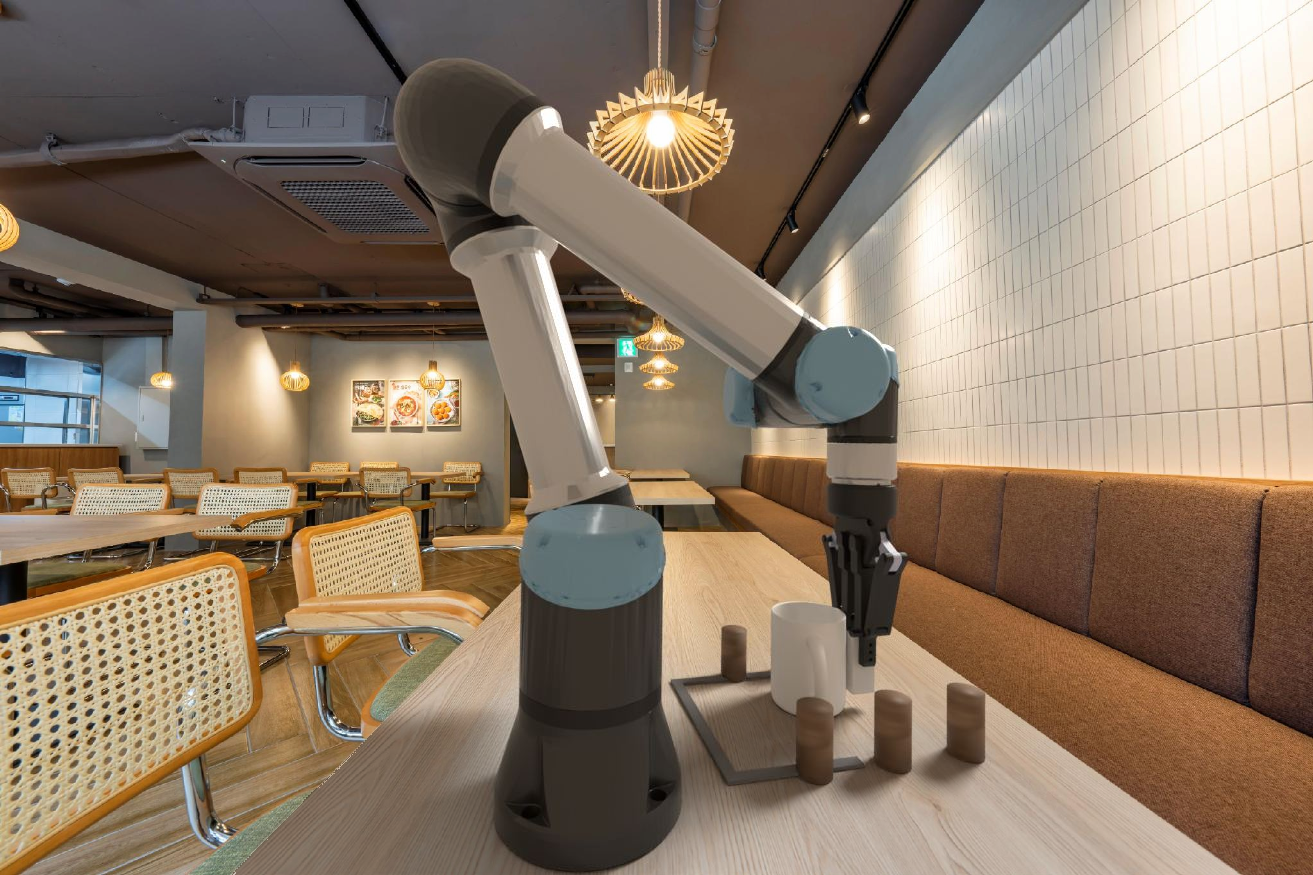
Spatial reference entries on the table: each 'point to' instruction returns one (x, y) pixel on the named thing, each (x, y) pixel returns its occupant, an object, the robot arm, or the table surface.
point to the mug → (808, 654)
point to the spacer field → (888, 720)
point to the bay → (716, 749)
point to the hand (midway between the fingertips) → (859, 690)
